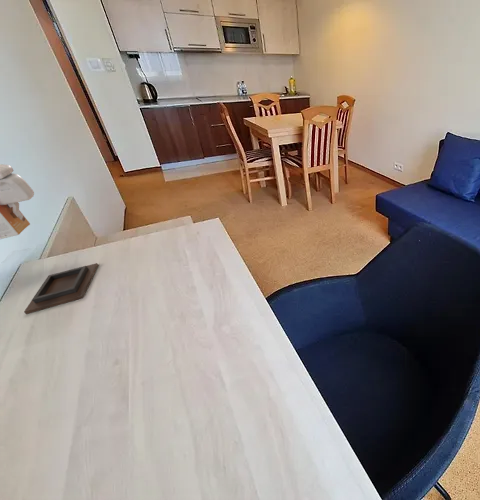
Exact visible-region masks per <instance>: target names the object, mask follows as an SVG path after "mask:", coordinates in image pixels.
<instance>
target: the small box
mask: <svg viewBox="0 0 480 500" xmlns="http://www.w3.org/2000/svg"><path fill="white" fill-rule="evenodd" d="M12 211H13V207H9V206H8V204H6V205H0V240H3V239H8V238H11V237H17V236H19V235H21V233H22V232H23V231H24V230H26V229H27V228H28V227H29V226H30V225H31V223H30V221H29V220H28V219H27V218H26V216H25V215H24V214H23V213H22V212H21V210H20V209H19V211H20V212H21V214H22V216H21V217H19V218H13V216H12V215H11V214H10V213H11V212H12Z"/></svg>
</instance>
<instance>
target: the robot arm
mask: <svg viewBox="0 0 480 500" xmlns="http://www.w3.org/2000/svg"><path fill="white" fill-rule="evenodd" d="M34 195H35V191H34V190H33V189H32V187H31V186H30V185H29V183H27V181H26V180H25V179H24V178H23V177H22V176H20V175H19V174H17V173H14V168H13V167H12V166H11V165H9V164H5V163H4V164H2V163H0V205H6V204H8V206H9V207H13V211H12V212H11V213H10V214H11V215H12V216H13V218H19V217H21V216H22V214H23V213H22V211H21V210H20V202H25V201H30V200H31V199H32V198H33V197H34ZM19 210H20V211H19ZM21 213H22V214H21Z"/></svg>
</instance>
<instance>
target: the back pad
mask: <svg viewBox="0 0 480 500" xmlns="http://www.w3.org/2000/svg"><path fill="white" fill-rule="evenodd" d="M99 266H100V265H99V264H98V263H97V262H95V263H92V264H88V265H84V266H79V267H76V268H72V269H71V268H70V269H68V270H64V271H60V272H57V273H52V274H49V275H47V277H46V278H45V280H44V281H43V283H42V284H41V286H40V287H39V289H38V290H37V292H36V293H35V294H34V296H33V297H32V299H31V301H30V302H29V303H28V305H27V307H26V308H25V310H24V311H23V313H24V314H26V315H28V314H32V313H35V312H39V311H43V310H47V309H49V308H53V307H56V306H61V305H63V304H67V303H70V302H75V301H77V300H81V299H83V298H84V297H85V295H86V292H87V290H88V288H89V286H90V284H91V282H92V280H93V278H94V276H95V274H96V272H97V270H98V268H99Z"/></svg>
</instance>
